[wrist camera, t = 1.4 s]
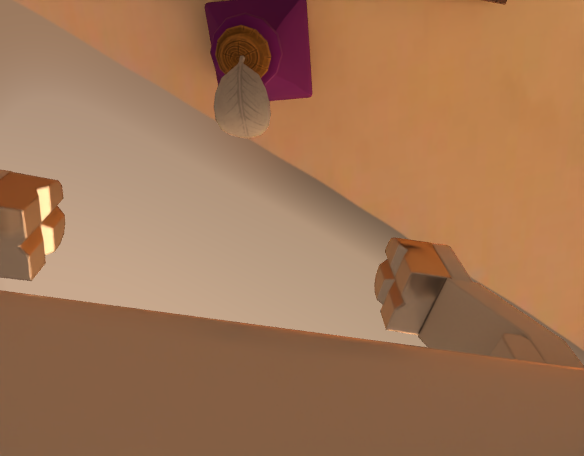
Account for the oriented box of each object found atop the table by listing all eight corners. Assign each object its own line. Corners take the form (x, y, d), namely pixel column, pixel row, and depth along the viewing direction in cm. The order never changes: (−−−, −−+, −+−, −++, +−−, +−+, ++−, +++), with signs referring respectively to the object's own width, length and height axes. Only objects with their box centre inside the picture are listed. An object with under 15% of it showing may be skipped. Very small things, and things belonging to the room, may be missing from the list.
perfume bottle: (211, 0, 34) (143, 26, 19) (304, -10, 34) (314, 9, 18) (226, 95, 38) (181, 182, 22) (311, 87, 37) (323, 170, 22)
